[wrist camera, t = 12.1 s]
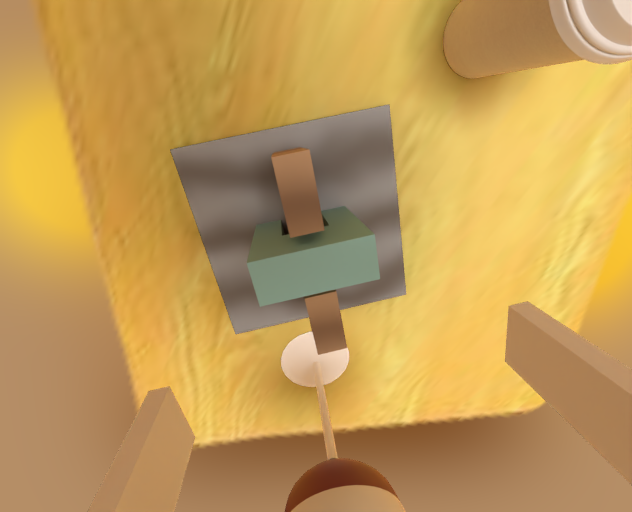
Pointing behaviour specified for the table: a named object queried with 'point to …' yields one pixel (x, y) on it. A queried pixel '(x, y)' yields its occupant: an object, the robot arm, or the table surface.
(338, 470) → the wineglass
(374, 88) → the table surface
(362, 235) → the green arch block
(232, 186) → the joint base
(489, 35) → the coffee cup
